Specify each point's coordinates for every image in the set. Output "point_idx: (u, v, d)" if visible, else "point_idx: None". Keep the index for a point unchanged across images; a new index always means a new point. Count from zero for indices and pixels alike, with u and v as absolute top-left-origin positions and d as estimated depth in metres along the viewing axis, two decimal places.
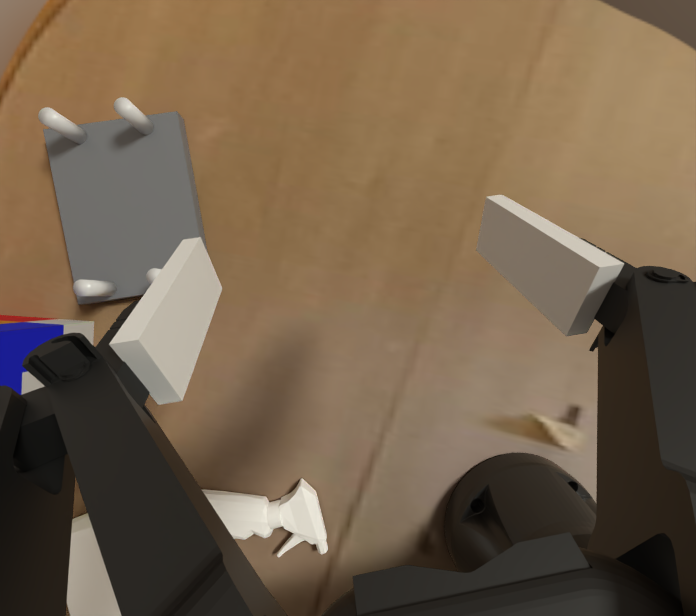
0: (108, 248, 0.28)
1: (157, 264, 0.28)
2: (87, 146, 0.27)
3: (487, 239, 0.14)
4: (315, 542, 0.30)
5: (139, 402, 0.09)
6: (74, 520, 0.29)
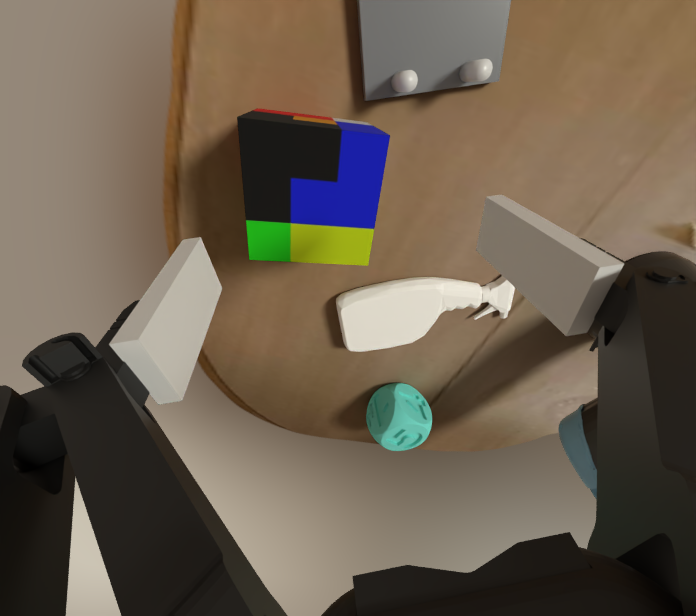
0: (406, 23, 0.24)
1: (454, 51, 0.25)
2: None
3: (487, 239, 0.14)
4: (504, 311, 0.43)
5: (139, 402, 0.09)
6: (348, 294, 0.38)
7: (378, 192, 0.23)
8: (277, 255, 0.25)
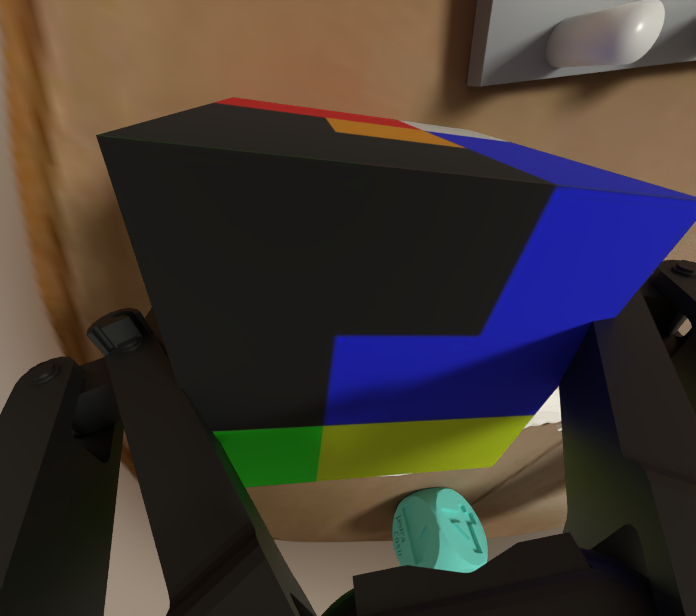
0: None
1: None
2: None
3: None
4: None
5: None
6: None
7: None
8: (283, 477, 0.10)
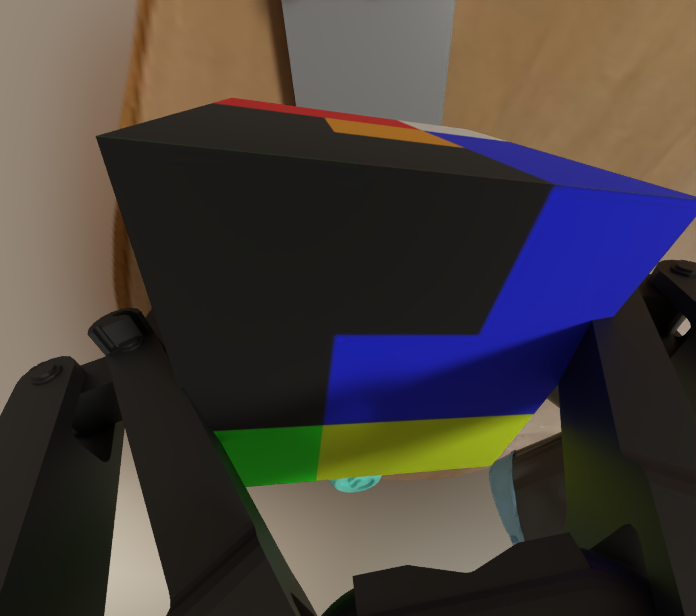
0: None
1: None
2: None
3: None
4: None
5: None
6: None
7: None
8: (283, 476, 0.10)
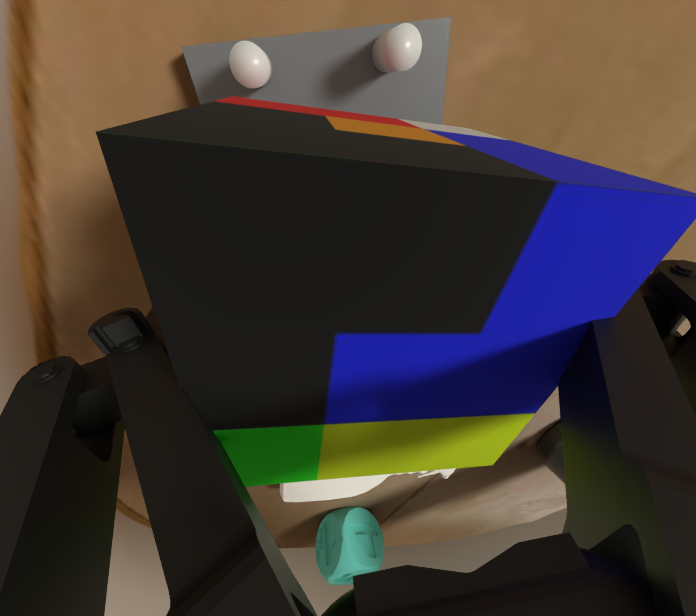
0: None
1: None
2: (273, 93, 0.14)
3: None
4: (447, 475, 0.43)
5: None
6: None
7: None
8: (284, 476, 0.10)
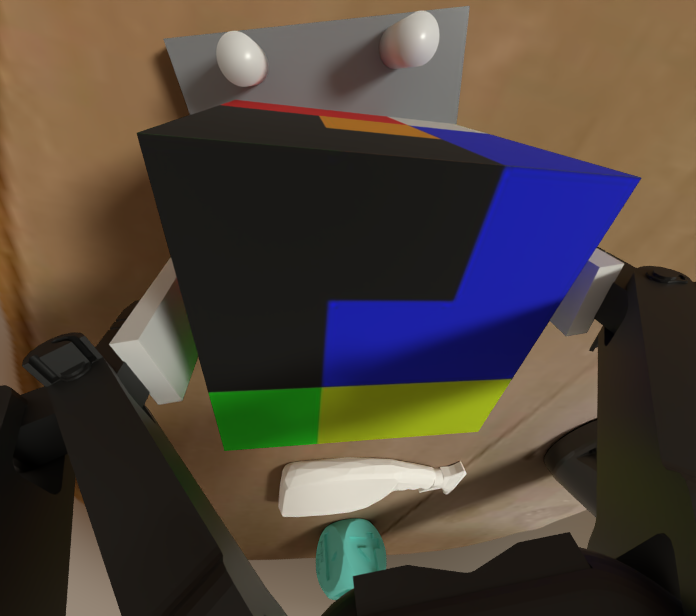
0: None
1: None
2: (269, 93, 0.13)
3: None
4: (448, 491, 0.42)
5: (139, 402, 0.09)
6: (299, 471, 0.33)
7: (549, 314, 0.09)
8: (288, 438, 0.11)
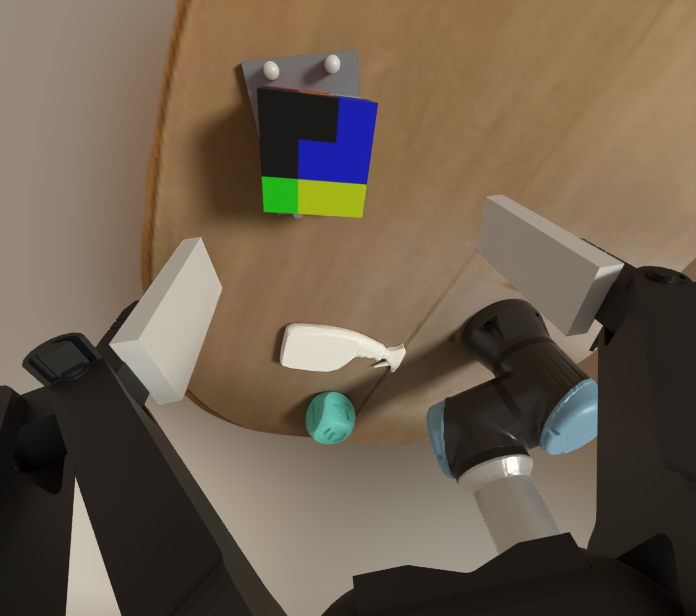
0: None
1: None
2: (280, 82, 0.32)
3: (487, 239, 0.14)
4: (394, 368, 0.62)
5: (139, 402, 0.09)
6: (297, 326, 0.52)
7: (369, 152, 0.28)
8: (286, 208, 0.30)
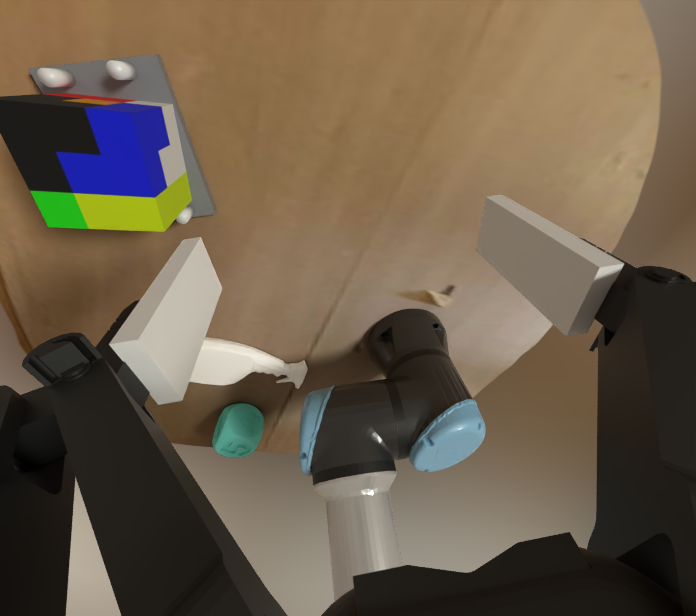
0: None
1: None
2: (79, 90, 0.30)
3: (487, 239, 0.14)
4: (297, 384, 0.61)
5: (139, 402, 0.09)
6: None
7: (144, 164, 0.26)
8: (73, 223, 0.28)
